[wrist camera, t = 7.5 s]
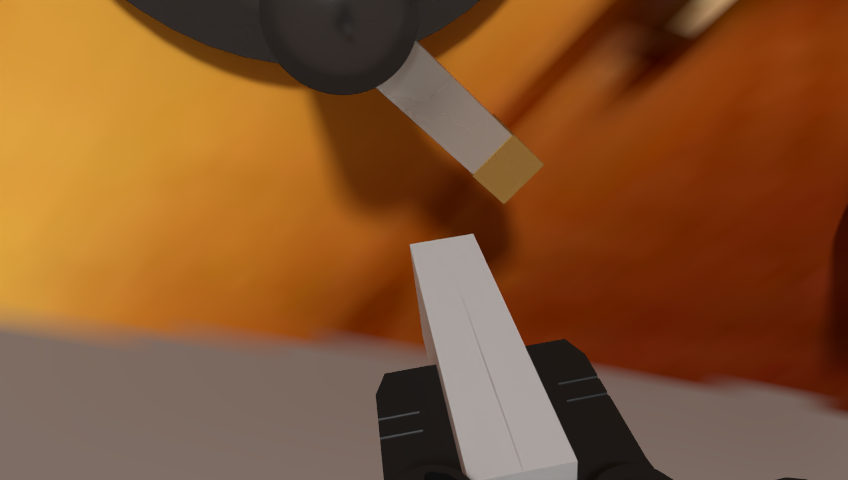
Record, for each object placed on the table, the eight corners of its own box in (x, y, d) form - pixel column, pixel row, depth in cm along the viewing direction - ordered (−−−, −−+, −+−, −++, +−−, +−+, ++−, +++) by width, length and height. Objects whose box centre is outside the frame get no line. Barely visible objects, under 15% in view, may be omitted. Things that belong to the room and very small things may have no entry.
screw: (249, -2, 21) (225, 20, 16) (327, -104, 20) (329, -117, 15) (448, 172, 25) (481, 235, 20) (521, 96, 24) (576, 141, 19)
